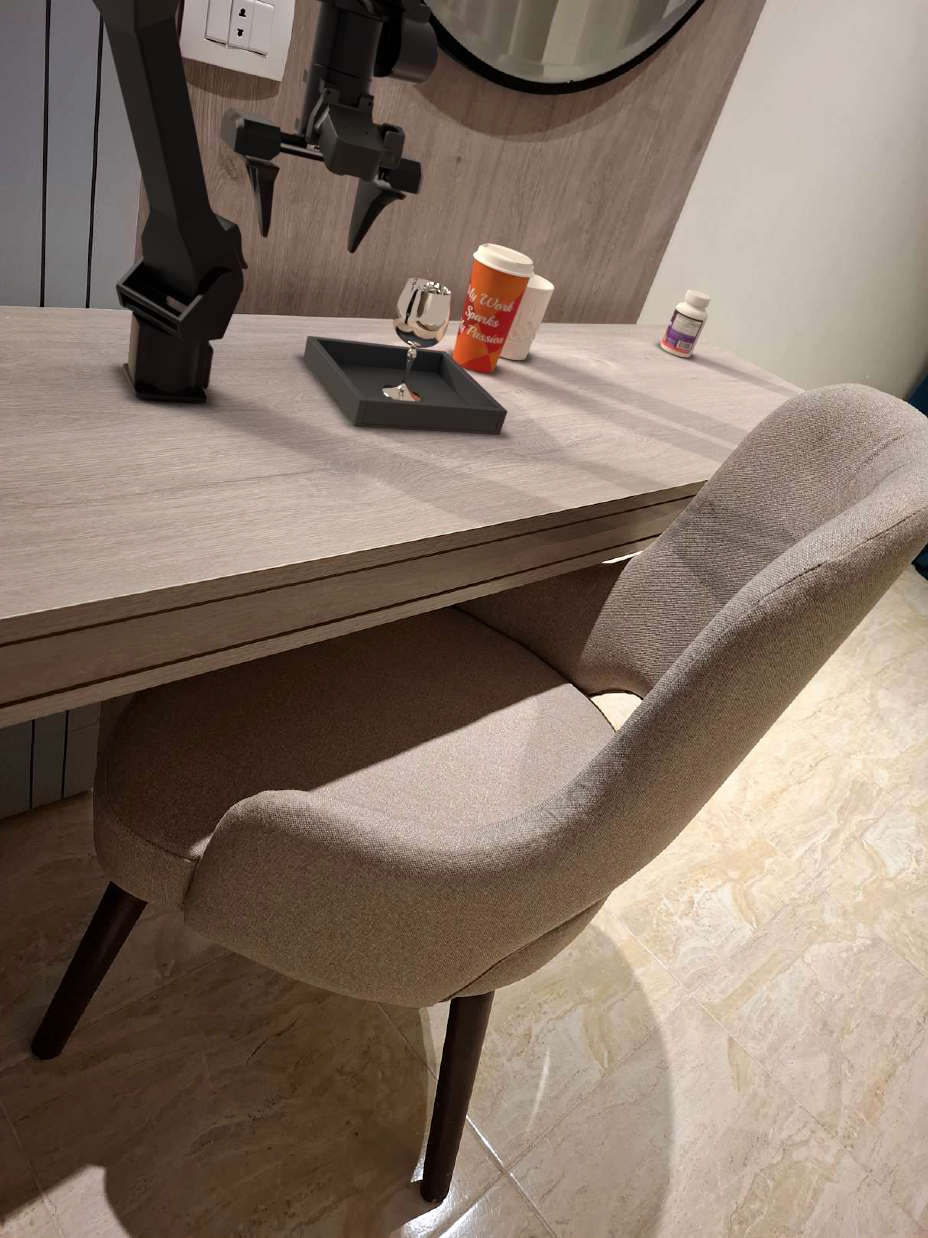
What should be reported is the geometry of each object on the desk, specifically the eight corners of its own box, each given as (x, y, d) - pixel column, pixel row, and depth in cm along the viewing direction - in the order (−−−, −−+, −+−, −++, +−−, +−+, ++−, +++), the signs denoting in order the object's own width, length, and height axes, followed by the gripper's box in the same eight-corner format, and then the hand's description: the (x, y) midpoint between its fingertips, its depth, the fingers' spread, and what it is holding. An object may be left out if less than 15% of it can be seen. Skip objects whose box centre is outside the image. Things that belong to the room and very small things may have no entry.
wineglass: (407, 410, 96) (437, 299, 90) (365, 387, 98) (391, 277, 92) (436, 400, 101) (466, 295, 94) (395, 379, 103) (422, 274, 96)
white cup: (526, 367, 121) (551, 294, 115) (470, 347, 121) (493, 273, 115) (533, 352, 127) (557, 281, 122) (480, 333, 128) (502, 262, 122)
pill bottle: (667, 343, 154) (691, 286, 149) (694, 356, 152) (719, 299, 147) (654, 346, 150) (678, 288, 145) (682, 359, 148) (708, 301, 143)
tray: (354, 425, 90) (360, 399, 89) (302, 359, 100) (307, 335, 99) (500, 434, 99) (508, 411, 98) (439, 372, 110) (445, 350, 108)
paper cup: (435, 357, 114) (467, 244, 106) (457, 346, 120) (489, 238, 112) (491, 382, 112) (527, 269, 105) (510, 368, 119) (546, 261, 111)
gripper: (267, 58, 72) (238, 256, 80) (467, 116, 82) (422, 287, 90) (231, 33, 79) (207, 217, 88) (418, 89, 89) (380, 249, 97)
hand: (308, 244), depth 90 cm, fingers open, 9 cm apart
